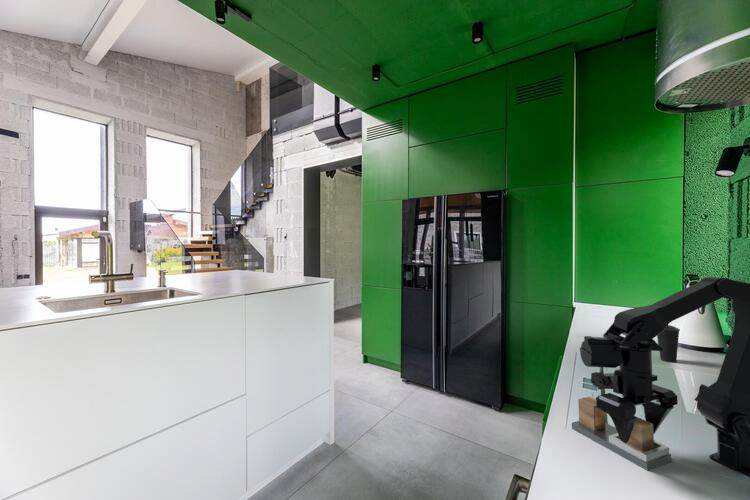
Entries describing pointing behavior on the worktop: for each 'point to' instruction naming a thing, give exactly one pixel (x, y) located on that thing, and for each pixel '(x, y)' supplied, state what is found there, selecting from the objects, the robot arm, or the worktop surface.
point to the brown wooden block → (591, 413)
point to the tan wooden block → (642, 435)
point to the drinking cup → (669, 343)
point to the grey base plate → (625, 446)
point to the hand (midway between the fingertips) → (637, 437)
